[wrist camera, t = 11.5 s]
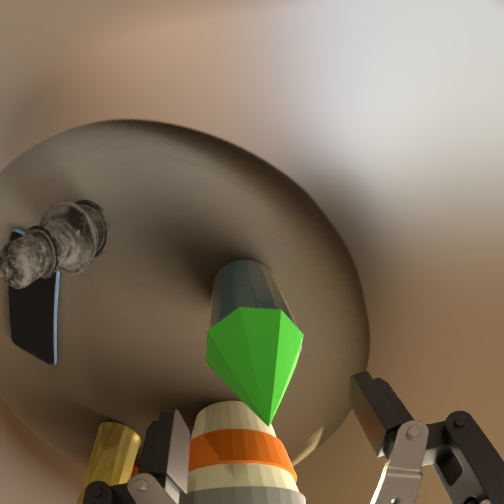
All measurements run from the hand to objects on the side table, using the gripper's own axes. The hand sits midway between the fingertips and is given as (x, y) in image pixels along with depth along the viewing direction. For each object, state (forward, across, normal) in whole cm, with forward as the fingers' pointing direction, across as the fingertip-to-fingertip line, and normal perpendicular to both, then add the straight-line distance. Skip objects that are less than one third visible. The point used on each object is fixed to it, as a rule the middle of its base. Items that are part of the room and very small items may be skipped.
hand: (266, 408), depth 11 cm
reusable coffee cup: (+14, +5, +18) cm, 23 cm away
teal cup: (+14, 0, 0) cm, 14 cm away
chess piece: (+14, +13, -8) cm, 21 cm away
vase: (+14, +21, +19) cm, 31 cm away
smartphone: (+14, +23, -2) cm, 27 cm away
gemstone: (+5, 0, 0) cm, 5 cm away
